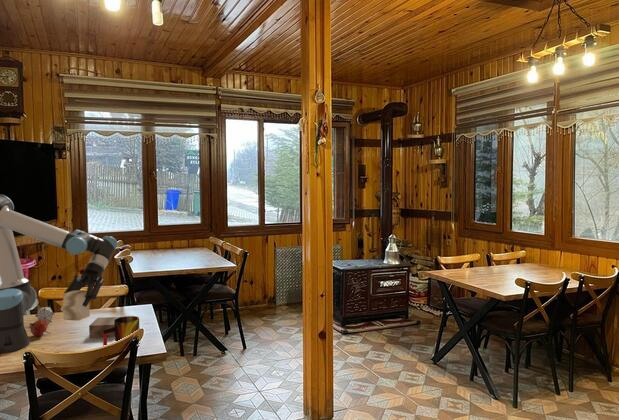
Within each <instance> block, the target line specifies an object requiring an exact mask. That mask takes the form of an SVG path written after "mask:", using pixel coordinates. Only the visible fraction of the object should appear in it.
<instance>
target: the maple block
mask: <svg viewBox="0 0 619 420" xmlns="http://www.w3.org/2000/svg"><path fill="white" fill-rule="evenodd" d="M86 294H87V290H81V289H80V290H75V291H71V292H67V293H63V296H62V297H63V301H62V303H63V304H64V313H63V320H65V321H66V320H67V321H74V322H75V321H76V322H79V321H82V320H84V319H86V318H89V317H90V314H91V313H90V302H89V303H88V305H87V306H86V307H85V308H84V310H83V312H82V314H79V313H78V312H77V311H76V310H77V309H78V307H79V305H80V303H81V301H82V300H83V298H84V297H85V296H86ZM85 298H86V297H85ZM63 304H62V305H63Z"/></svg>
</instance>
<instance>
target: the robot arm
mask: <svg viewBox="0 0 619 420" xmlns="http://www.w3.org/2000/svg"><path fill="white" fill-rule="evenodd" d="M14 210H15V205H14V203H13V201H12V200H11V198H9V197H8V196H7V195H5V194H0V281H1V284H0V352H3V353H7V352H6V351H10V352H14V351H13V350H15V351H18V350H21V349H23V348H22V347H24V348H26V347H27V346H29V345H30V337H29V335H28V333H27V331H26V328H25V325H24V324H25V322H24V320H25V319H24V313H26V312H27V311H29V310H31V308H32V307H33V305H35V303H36V300H37V292H36V289H34V287H33V286H31V283H30V280H29V279H28V278H26V277H25V276H24V271H23V267H22V264H21V259H20V255H19V251H18V248H17V245H16V241H15V235H14V232H16V233H19V234H22V235H24V236H27V237H30V238H33V239H35V240H38V241H41V242H43V243H47V244H49V245H51V246H52V245H53V246H55V247H57V248H60V249H63V250H66V251H67V252H68V253H69V254H70V255H74V256H75V255H76V256H77V255H80V254H82V253H84V252H85V251H86V252H88V253H90V254H92V256H91V258H89V261H88V263H87V264H86V266H85V267H84V270H83V273H82V274H81V275H79V276H78V275H74V278H73V279H72V281H71V282H70V284H69V286H67V289H65V291H64V293H67V292H71V291H75V290H81V289H83V288H84V287H86V286H87V289H86V291H87V294H86V296H85V297H86V298H85V297H84V298H83V300H82V301H81V303H80V305H79V307H78V309H77V310H76V311H77V312H78V313H79V314H82V312H83V310H84V308H85V307H86V306H87V305H88V303H89V304H90V301H92V300H96V299H97V296H98V295H99V292H100V289H101V286H102V284H103V283H104V282H105V279H103V277H102V274H103V273H104V272H105V269H106V268H107V266H108V265H109V262H110V261H111V259H112V257H113V255H114V254H115V252H116V249H117V247H118V245H119V244H118V241H117V239H116V238H115V237H113V236H111V235H110V236H108V235H105V236H103V237H102V238H100V237H97V236H95V235H93V234H91V233H88V232H86V231H84V230H80V229H75V230H73V232H70V231H69V230H65V229H63V228H59V227H57V226H54V225H52V224H49V223H47V222H44V221H41V220H39V219H35V218H33V217H30V216H29V215H28V216H27V215H25V214H24V213H23V214H22V213H20V212H17V211H14ZM13 231H14V232H13ZM64 293H63V294H64ZM60 310H61V312H63V314H64V304H62V305H61V308H60ZM25 346H26V347H25ZM20 348H21V349H20ZM17 349H18V350H17Z"/></svg>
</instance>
